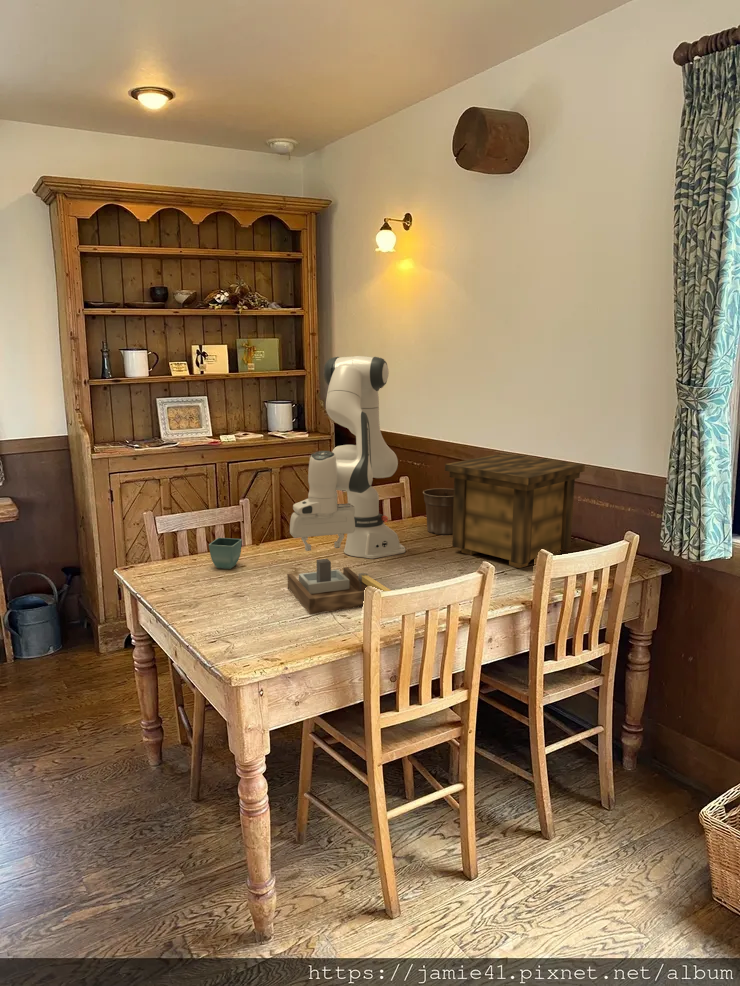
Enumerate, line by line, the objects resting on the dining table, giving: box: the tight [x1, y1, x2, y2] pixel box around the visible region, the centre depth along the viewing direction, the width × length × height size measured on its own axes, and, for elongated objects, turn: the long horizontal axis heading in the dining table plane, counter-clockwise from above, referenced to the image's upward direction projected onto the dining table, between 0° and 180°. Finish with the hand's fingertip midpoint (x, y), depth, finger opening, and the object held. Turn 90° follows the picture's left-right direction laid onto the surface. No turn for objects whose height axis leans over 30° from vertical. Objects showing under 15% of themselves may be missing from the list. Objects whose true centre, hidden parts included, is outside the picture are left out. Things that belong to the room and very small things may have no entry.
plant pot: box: [422, 487, 454, 536], centre depth 303 cm, size 16×16×16 cm
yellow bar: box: [357, 572, 392, 591], centre depth 222 cm, size 18×3×2 cm, turn 27°
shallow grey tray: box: [298, 558, 349, 594], centre depth 234 cm, size 13×11×8 cm
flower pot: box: [208, 537, 243, 570], centre depth 257 cm, size 9×9×9 cm
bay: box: [287, 566, 367, 615], centre depth 230 cm, size 20×24×5 cm
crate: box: [444, 452, 586, 569], centre depth 272 cm, size 35×35×33 cm
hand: (322, 549), depth 232 cm, fingers open, 8 cm apart
